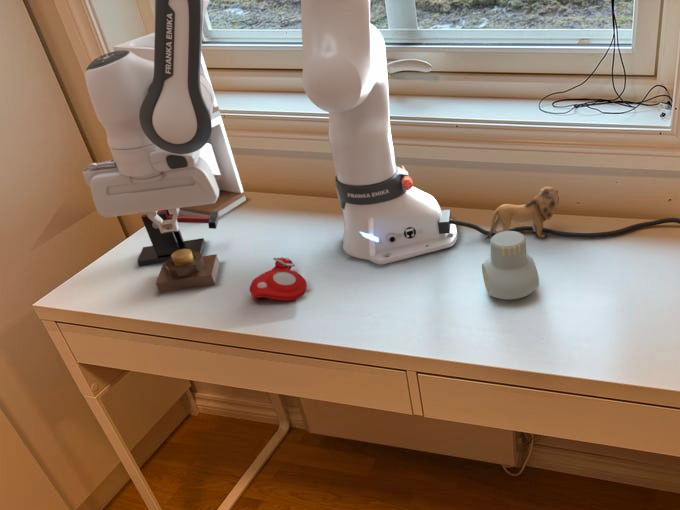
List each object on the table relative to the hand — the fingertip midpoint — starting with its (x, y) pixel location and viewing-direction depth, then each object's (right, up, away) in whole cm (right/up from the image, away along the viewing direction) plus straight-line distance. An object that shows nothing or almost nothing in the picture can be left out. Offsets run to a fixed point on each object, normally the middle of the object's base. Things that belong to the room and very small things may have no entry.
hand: (170, 230), depth 125 cm
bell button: (+1, -5, +4) cm, 6 cm away
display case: (-5, +11, +31) cm, 34 cm away
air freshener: (+61, -11, -5) cm, 62 cm away
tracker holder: (+20, -10, +1) cm, 23 cm away
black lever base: (-6, -2, +14) cm, 16 cm away
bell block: (+1, -8, +6) cm, 10 cm away
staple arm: (-2, +3, +11) cm, 12 cm away
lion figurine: (+64, +1, +10) cm, 65 cm away
